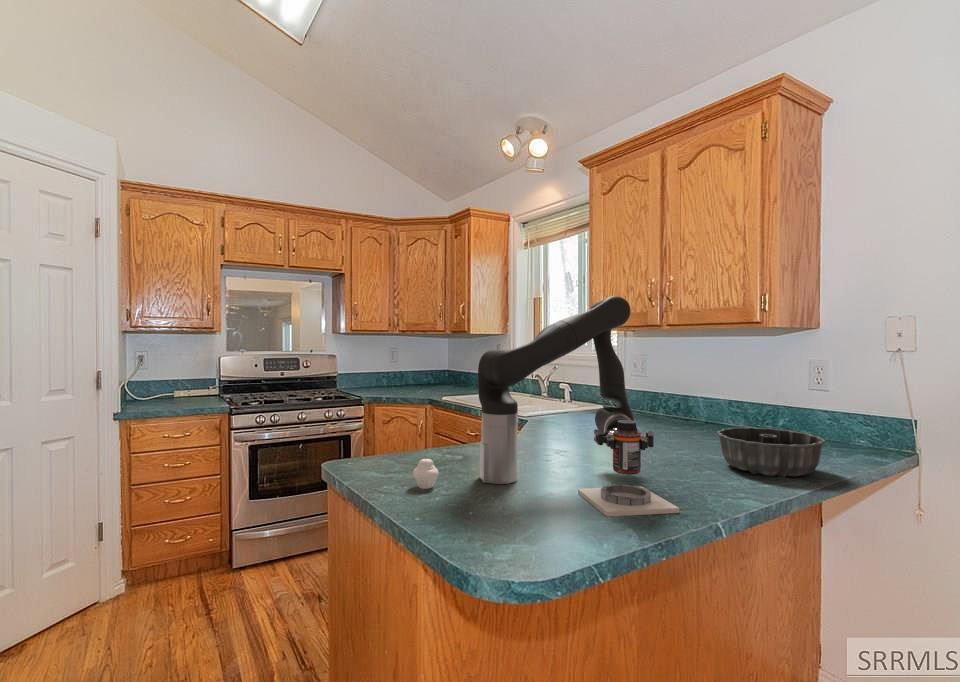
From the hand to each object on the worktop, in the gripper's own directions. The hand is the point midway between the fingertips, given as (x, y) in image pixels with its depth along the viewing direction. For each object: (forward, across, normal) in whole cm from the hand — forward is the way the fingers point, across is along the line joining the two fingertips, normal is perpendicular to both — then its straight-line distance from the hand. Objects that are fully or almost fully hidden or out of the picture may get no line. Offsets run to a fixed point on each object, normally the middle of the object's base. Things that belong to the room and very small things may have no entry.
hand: (628, 444), depth 109 cm
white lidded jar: (-4, -47, +13) cm, 49 cm away
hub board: (-2, 0, +13) cm, 13 cm away
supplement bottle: (-2, 0, +7) cm, 7 cm away
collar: (-2, 0, +13) cm, 13 cm away
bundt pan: (-41, +43, +14) cm, 61 cm away
